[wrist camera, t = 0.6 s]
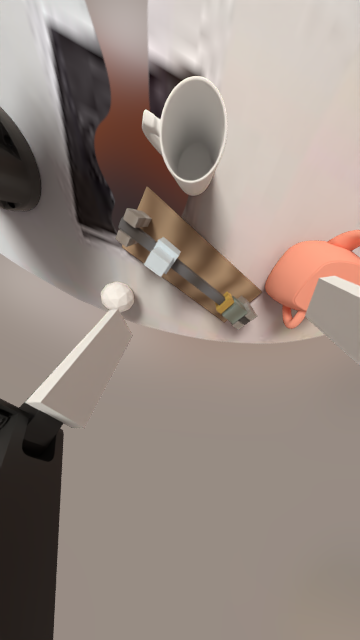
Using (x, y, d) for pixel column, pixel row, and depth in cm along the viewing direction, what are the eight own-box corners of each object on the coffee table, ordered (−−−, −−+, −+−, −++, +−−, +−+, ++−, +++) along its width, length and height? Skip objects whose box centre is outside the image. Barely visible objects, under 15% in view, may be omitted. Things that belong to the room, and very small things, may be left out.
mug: (222, 153, 22) (242, 100, 12) (203, 204, 26) (207, 194, 16) (163, 120, 21) (133, 32, 11) (152, 179, 25) (123, 152, 15)
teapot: (371, 226, 25) (482, 229, 16) (291, 313, 37) (326, 346, 27) (307, 202, 24) (381, 189, 15) (245, 299, 36) (264, 328, 26)
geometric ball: (133, 293, 42) (128, 319, 39) (103, 285, 38) (96, 312, 35) (140, 282, 35) (135, 311, 33) (105, 270, 32) (96, 303, 29)
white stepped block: (153, 255, 27) (138, 267, 21) (163, 237, 25) (151, 242, 19) (169, 268, 29) (160, 283, 22) (181, 251, 27) (175, 261, 20)
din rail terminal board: (124, 246, 32) (102, 253, 24) (148, 187, 25) (129, 174, 18) (223, 320, 40) (229, 341, 33) (260, 290, 34) (276, 308, 27)
